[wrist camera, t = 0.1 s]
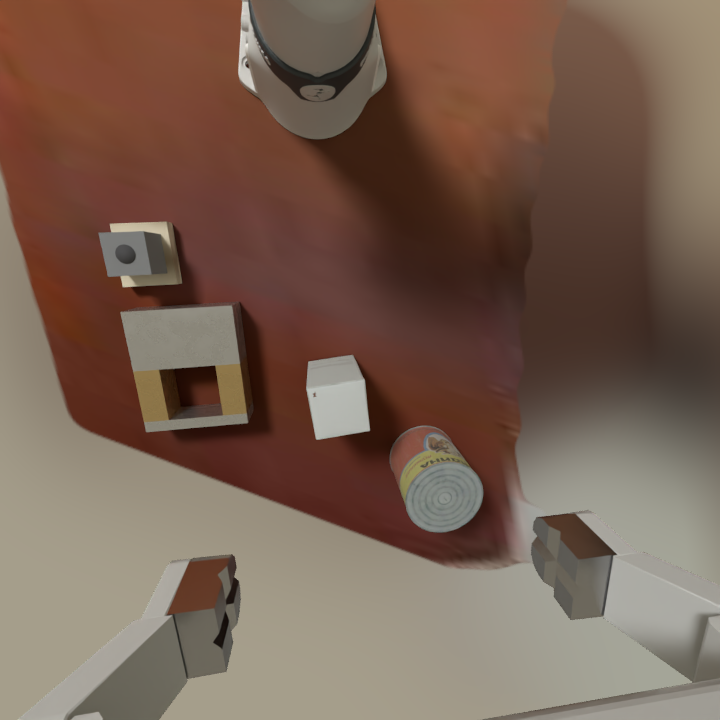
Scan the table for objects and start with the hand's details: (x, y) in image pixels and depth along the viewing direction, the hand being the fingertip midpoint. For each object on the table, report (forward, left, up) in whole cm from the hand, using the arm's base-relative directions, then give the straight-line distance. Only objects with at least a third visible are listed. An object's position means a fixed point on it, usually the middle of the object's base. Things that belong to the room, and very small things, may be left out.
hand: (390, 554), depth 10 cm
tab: (-10, -24, -48) cm, 54 cm away
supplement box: (+10, 0, -48) cm, 49 cm away
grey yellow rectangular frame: (+5, -20, -48) cm, 52 cm away
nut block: (-10, -24, -46) cm, 52 cm away
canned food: (+25, +14, -48) cm, 56 cm away
